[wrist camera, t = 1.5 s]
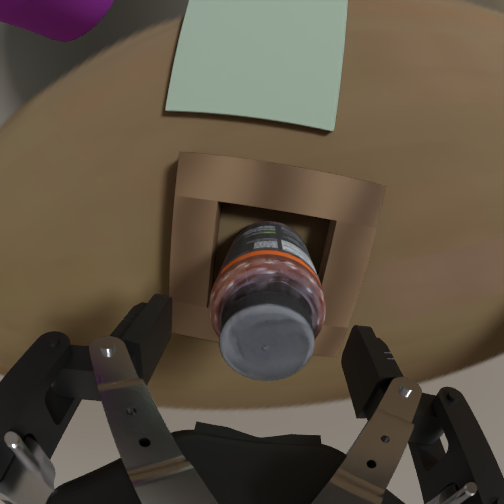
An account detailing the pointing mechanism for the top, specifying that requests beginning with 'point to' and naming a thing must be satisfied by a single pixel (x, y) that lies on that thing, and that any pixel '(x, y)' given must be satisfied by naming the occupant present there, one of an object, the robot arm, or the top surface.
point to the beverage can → (54, 16)
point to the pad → (261, 60)
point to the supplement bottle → (267, 303)
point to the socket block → (277, 198)
